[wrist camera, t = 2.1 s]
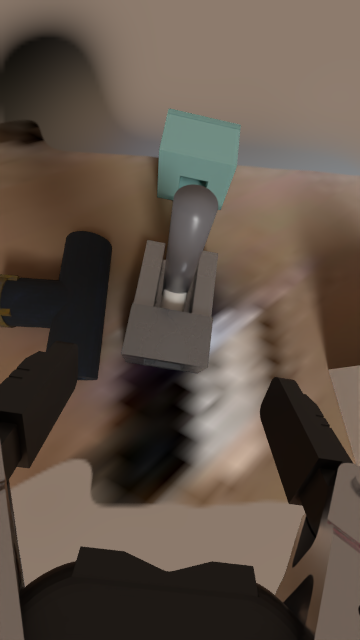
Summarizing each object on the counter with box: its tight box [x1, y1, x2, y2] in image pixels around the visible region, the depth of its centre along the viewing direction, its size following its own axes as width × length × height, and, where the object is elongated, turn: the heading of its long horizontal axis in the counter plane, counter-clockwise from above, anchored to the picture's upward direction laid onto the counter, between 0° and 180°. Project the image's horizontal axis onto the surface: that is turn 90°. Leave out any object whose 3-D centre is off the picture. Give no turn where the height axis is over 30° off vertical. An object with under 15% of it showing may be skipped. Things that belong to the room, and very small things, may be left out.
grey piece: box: [161, 184, 218, 312], centre depth 24 cm, size 3×18×14 cm, turn 172°
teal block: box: [157, 109, 241, 210], centre depth 33 cm, size 9×7×7 cm
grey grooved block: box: [121, 240, 218, 373], centre depth 28 cm, size 8×13×5 cm, turn 172°
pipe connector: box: [0, 231, 112, 380], centre depth 27 cm, size 12×5×15 cm
